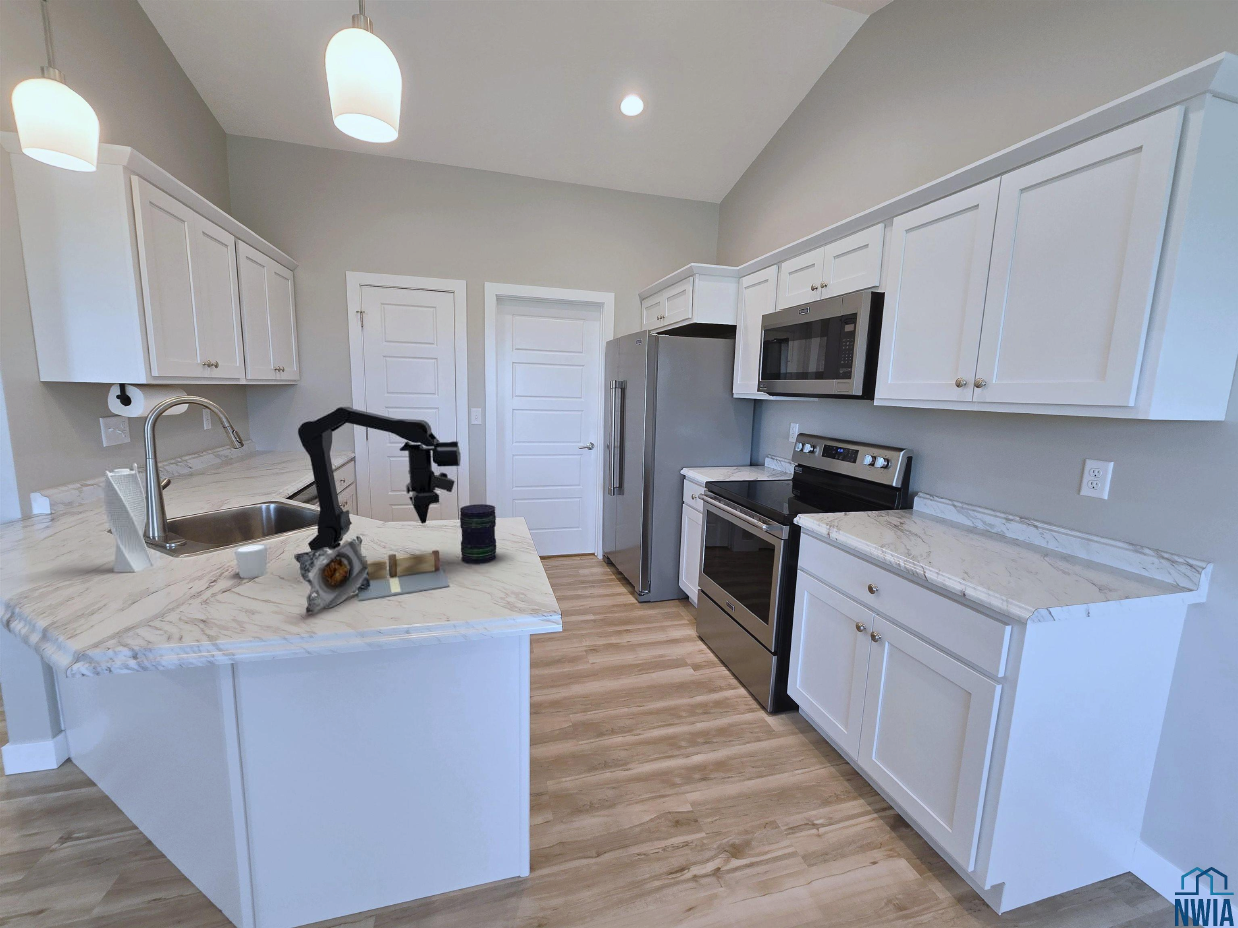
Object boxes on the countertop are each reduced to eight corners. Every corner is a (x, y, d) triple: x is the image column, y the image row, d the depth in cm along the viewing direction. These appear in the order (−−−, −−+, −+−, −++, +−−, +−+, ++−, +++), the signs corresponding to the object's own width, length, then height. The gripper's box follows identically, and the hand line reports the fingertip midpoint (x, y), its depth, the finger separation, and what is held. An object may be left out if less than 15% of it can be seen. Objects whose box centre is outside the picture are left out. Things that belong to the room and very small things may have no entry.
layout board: (358, 601, 115) (358, 599, 115) (358, 574, 130) (357, 573, 130) (449, 586, 124) (449, 585, 124) (438, 563, 140) (438, 562, 140)
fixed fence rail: (360, 582, 125) (359, 563, 124) (360, 579, 126) (359, 560, 125) (387, 578, 127) (386, 559, 127) (387, 576, 129) (386, 557, 128)
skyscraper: (162, 563, 136) (150, 461, 132) (137, 573, 128) (123, 465, 124) (132, 563, 135) (119, 461, 131) (105, 573, 128) (90, 465, 124)
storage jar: (475, 567, 138) (474, 514, 136) (453, 559, 144) (452, 508, 141) (503, 557, 146) (503, 507, 143) (482, 550, 151) (481, 502, 149)
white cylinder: (275, 571, 132) (273, 546, 131) (247, 580, 125) (244, 553, 124) (259, 567, 134) (257, 542, 133) (230, 575, 128) (228, 549, 127)
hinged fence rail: (389, 577, 128) (388, 556, 127) (389, 574, 129) (388, 554, 128) (440, 569, 133) (439, 550, 132) (439, 567, 135) (438, 548, 134)
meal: (357, 585, 122) (351, 534, 120) (371, 588, 121) (365, 535, 119) (300, 612, 108) (293, 555, 106) (315, 615, 107) (308, 557, 105)
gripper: (458, 469, 131) (460, 527, 133) (445, 460, 147) (447, 512, 150) (412, 473, 126) (415, 533, 128) (404, 463, 142) (407, 516, 144)
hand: (423, 523), depth 138 cm, fingers closed
